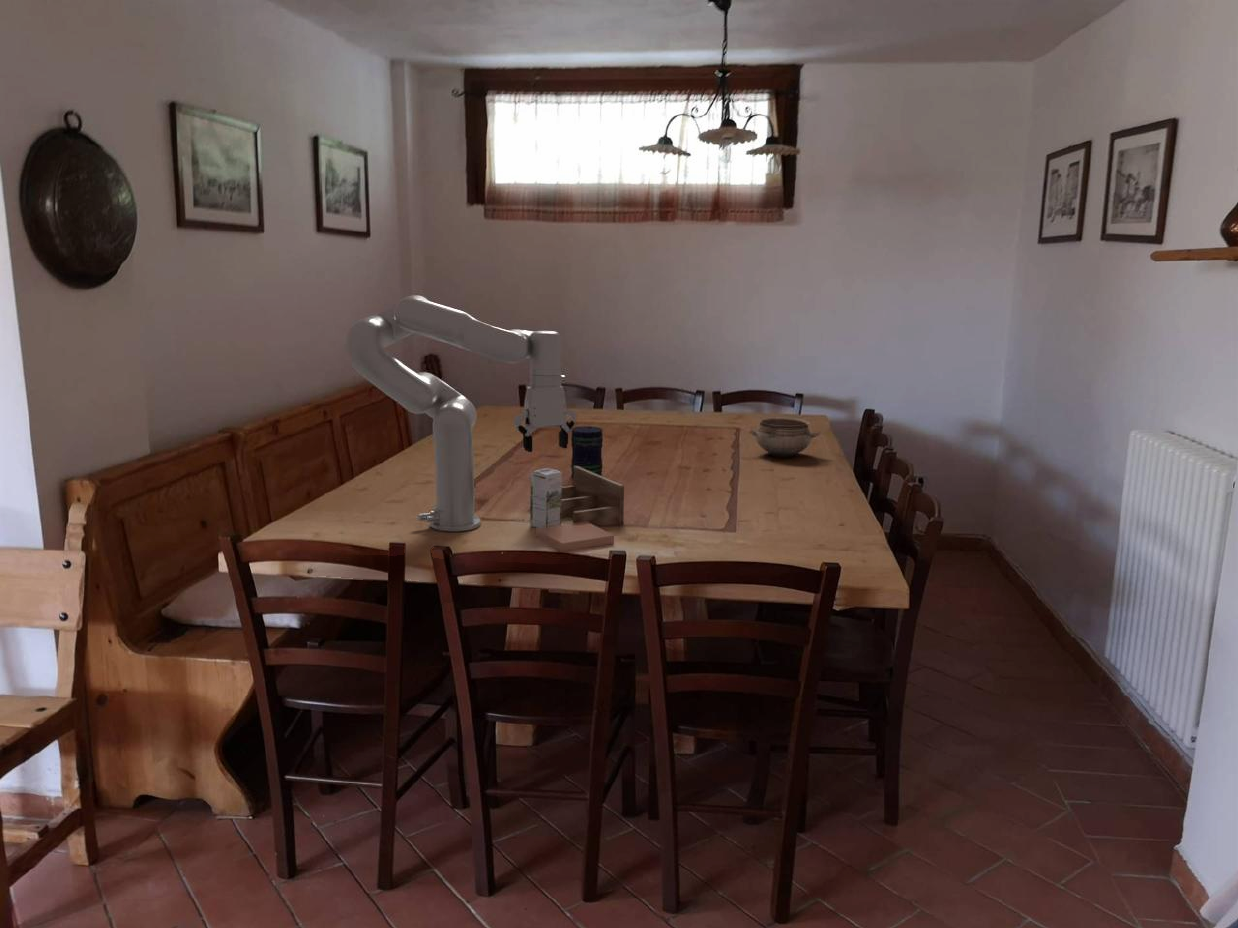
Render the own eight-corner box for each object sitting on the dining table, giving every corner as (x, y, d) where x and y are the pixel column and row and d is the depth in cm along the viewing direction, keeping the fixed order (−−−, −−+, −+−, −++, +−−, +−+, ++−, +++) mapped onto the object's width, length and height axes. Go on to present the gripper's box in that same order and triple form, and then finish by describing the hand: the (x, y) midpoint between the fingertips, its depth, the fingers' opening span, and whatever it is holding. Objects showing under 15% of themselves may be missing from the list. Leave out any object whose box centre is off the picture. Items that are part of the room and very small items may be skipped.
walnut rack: (575, 529, 237) (575, 491, 235) (531, 506, 259) (531, 470, 256) (623, 522, 244) (624, 485, 242) (577, 500, 266) (577, 465, 263)
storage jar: (598, 480, 289) (599, 433, 286) (567, 478, 291) (567, 431, 288) (605, 473, 299) (606, 427, 296) (575, 471, 301) (575, 425, 298)
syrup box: (545, 521, 244) (545, 467, 241) (562, 525, 241) (562, 470, 237) (529, 526, 240) (529, 470, 237) (546, 530, 236) (546, 474, 233)
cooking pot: (815, 451, 339) (817, 418, 336) (821, 462, 320) (823, 427, 318) (745, 449, 341) (747, 415, 338) (747, 459, 323) (748, 424, 320)
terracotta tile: (562, 551, 220) (562, 543, 219) (536, 536, 231) (536, 528, 231) (613, 543, 227) (614, 535, 226) (586, 528, 238) (586, 521, 238)
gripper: (569, 377, 240) (569, 443, 243) (507, 381, 231) (508, 449, 235) (583, 381, 233) (583, 448, 237) (520, 385, 225) (520, 455, 228)
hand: (545, 449), depth 236 cm, fingers open, 9 cm apart
